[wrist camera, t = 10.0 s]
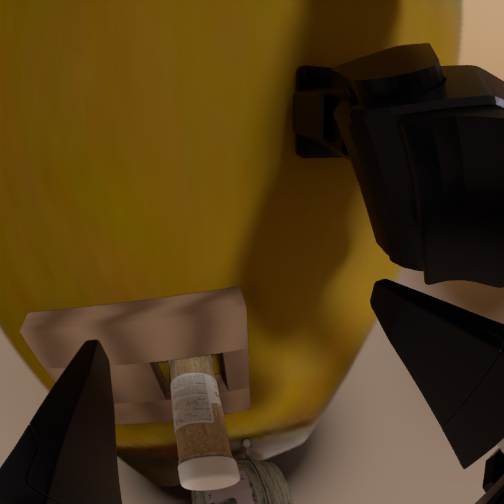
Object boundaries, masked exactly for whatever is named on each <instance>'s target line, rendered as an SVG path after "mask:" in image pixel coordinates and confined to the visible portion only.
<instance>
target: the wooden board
mask: <svg viewBox="0 0 504 504" xmlns="http://www.w3.org/2000/svg"><path fill="white" fill-rule="evenodd" d="M20 333H21V334H22V336H23V337H24V339H25V341H26V342H27V344H28V345H29V347H30V348H31V350H32V351H33V353H34V354H35V356H36V357H37V359H38V360H39V361H40V363H41V364H42V366H43V367H44V368H45V370H46V371H47V373H48V374H49V375H50V377H51V378H52V379H53V380H54V382H55V383H56V382H57V380H58V379H59V377H60V376H61V374H62V373H63V371H64V370H65V368H66V367H67V366H68V364H69V363H70V361H71V360H72V359H73V357H74V356H75V354H76V353H77V352H78V350H79V349H80V347H81V346H82V345H83V343H84V342H85V341H87V340H94V339H97V340H99V341H100V343H101V345H102V347H103V349H104V351H105V352H106V354H107V356H108V359H109V362H110V371H111V382H112V391H113V399H114V409H115V424H138V423H154V422H166V421H173V411H172V400H171V387H170V386H171V381H165V380H164V377H163V375H162V373H161V370H160V368H159V365H158V363H157V362H158V361H167V360H175V359H183V358H191V357H198V356H205V355H211V354H218V353H222V358H223V365H224V372H225V373H222V374H216V375H215V380H216V382H217V386H218V391H219V396H220V400H221V405H222V410H223V414H227V413H233V412H239V411H244V410H249V409H251V402H250V380H249V358H248V335H247V310H246V304H245V301H244V298H243V295H242V292H241V289H240V287H234V288H227V289H221V290H214V291H207V292H200V293H193V294H186V295H179V296H172V297H164V298H157V299H149V300H141V301H134V302H125V303H117V304H109V305H100V306H91V307H82V308H73V309H63V310H53V311H42V312H31V313H28V314H27V316H26V318H25V321H24V323H23V325H22V328H21V330H20Z"/></svg>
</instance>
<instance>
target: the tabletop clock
mask: <svg viewBox="0 0 504 504" xmlns="http://www.w3.org/2000/svg"><path fill="white" fill-rule="evenodd" d="M242 444H243V446H244V447H246V458H243V455H242V454H241V453H236V454H235V455H234V459H235V461H236V463H237V467H238V471H239V475H240V480H239V481H238V482H237V483H236V484H234V485H232V486H229V487H226V488H222V489H216V490H207V491H196V490H191V499H192V504H293V501H292V497H291V494H290V490H289V488H288V486H287V483H286V481H285V479H284V477H283V475H282V473H281V471H280V470H279V468H278V467H277V466H276V465H275V464H274V463H269V462H264V461H259V460H254V459H252V458H251V454H250V449H249V447H251V446H252V441H251V440H250V439H244V440H243V442H242Z"/></svg>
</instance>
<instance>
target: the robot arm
mask: <svg viewBox="0 0 504 504" xmlns="http://www.w3.org/2000/svg"><path fill="white" fill-rule="evenodd" d="M303 70H306V71H307V75H306V76H304V75H303V74H302V71H303ZM293 130H294V131H295V132H296V154H297V155H298V156H300V157H301V158H329V157H344V158H346V159H348V160H350V161H351V163H352V166H353V168H354V171H355V174H356V177H357V180H358V183H359V186H360V189H361V192H362V196H363V199H364V202H365V205H366V209H367V212H368V215H369V219H370V222H371V226H372V229H373V233H374V236H375V239H376V242H377V244H378V245H379V246H380V247H381V248H382V249H383V251H384V252H385V253H386V254H387V255H389V258H390V260H391V261H392V262H393V263H395V264H398V265H400V266H402V267H404V268H408V269H413V270H417V271H424V281H425V284H427V285H430V284H435V283H439V282H443V281H449V280H466V281H473V282H477V283H481V284H486V285H489V286H493V287H498V288H502V287H504V81H502V80H501V79H499V78H497V77H496V76H494V75H492V74H491V73H489V72H487V71H485V70H484V69H482V68H480V67H477V66H472V65H470V66H469V65H457V66H440V62H439V59H438V58H437V56H436V54H435V52H434V50H433V49H432V47H431V45H430V44H429V43H423V44H411V45H401V46H395V47H392V48H389V49H385V50H382V51H379V52H376V53H373V54H370V55H367V56H364V57H362V58H359V59H356V60H353V61H350V62H348V63H345V64H342V65H340V66H337V67H335V68H325V67H315V66H300V67H299V68H298V69H297V72H296V92H295V93H294V94H293ZM304 147H305V149H306V151H305V152H304V153H301V149H302V148H304ZM370 304H371V307H372V309H373V311H374V313H375V314H376V316H377V318H378V320H379V322H380V324H381V326H382V328H383V330H384V332H385V334H386V336H387V337H388V339H389V341H390V343H391V344H392V346H393V347H394V349H395V350H396V352H397V354H398V355H399V357H400V358H401V360H402V362H403V363H404V365H405V366H406V368H407V370H408V371H409V373H410V375H411V376H412V378H413V379H414V381H415V383H416V384H417V386H418V388H419V389H420V391H421V392H422V394H423V396H424V398H425V400H426V401H427V403H428V405H429V406H430V408H431V410H432V412H433V413H434V415H435V417H436V419H437V420H438V422H439V424H440V426H441V427H442V430H443V432H444V433H445V435H446V437H447V439H448V441H449V443H450V445H451V446H452V448H453V450H454V452H455V454H456V456H457V458H458V460H459V461H460V464H461V466H462V467H463V469H466V468H467V467H469V466H470V465H471V464H473V463H474V462H475V461H477V460H478V459H479V458H480V457H482V456H483V455H484V454H486V453H487V452H488V451H489V450H491V449H492V448H493V447H494V446H496V445H498V447H499V448H498V449H497V450H496V451H495V452H494V453H493V454H492V455H491V456H490V458H488V459H487V460H486V465H485V474H484V480H483V489H484V490H485V492H486V494H484V495H483V496H482V497H481V498H480V499H479V500H478V501H477V502H476V503H475V504H504V324H502V323H499V322H496V321H493V320H490V319H488V318H485V317H483V316H480V315H477V314H475V313H473V312H470V311H467V310H465V309H462V308H460V307H457V306H455V305H452V304H450V303H447V302H445V301H442V300H439V299H437V298H434V297H432V296H429V295H427V294H424V293H421V292H419V291H417V290H414V289H411V288H409V287H406V286H403V285H401V284H398V283H396V282H393V281H390V280H388V279H382V280H379V281H376V282H375V284H374V287H373V291H372V295H371V299H370ZM0 504H122V500H121V492H120V484H119V475H118V465H117V452H116V435H115V409H114V399H113V391H112V382H111V371H110V362H109V359H108V356H107V354H106V352H105V351H104V349H103V347H102V345H101V343H100V341H99V340H97V339H94V340H87V341H85V342H84V343H83V345H82V346H81V347H80V349H79V350H78V352H77V353H76V354H75V356H74V357H73V359H72V360H71V361H70V363H69V364H68V366H67V367H66V368H65V370H64V371H63V373H62V374H61V376H60V377H59V379H58V380H57V382H56V383H55V384H54V386H53V387H52V389H51V390H50V392H49V393H48V395H47V396H46V398H45V400H44V401H43V403H42V404H41V406H40V407H39V409H38V410H37V412H36V414H35V415H34V417H33V419H32V420H31V422H30V425H28V426H27V428H26V430H25V431H24V433H23V435H22V436H21V438H20V439H19V441H18V443H17V444H16V446H15V447H14V449H13V450H12V452H11V453H10V455H9V456H8V458H7V459H6V460H5V462H4V463H3V465H2V466H1V468H0Z"/></svg>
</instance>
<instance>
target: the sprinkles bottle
mask: <svg viewBox="0 0 504 504" xmlns="http://www.w3.org/2000/svg"><path fill="white" fill-rule="evenodd" d="M168 364H169V367H170V375H171V386H170V387H171V400H172V411H173V422H174V431H175V435H176V440H177V448H178V456H179V461H178V463H179V466H178V472H179V478H180V483H181V485H182V486H183V487H184V488H186V489H190V490H196V491H207V490H216V489H222V488H226V487H229V486H232V485H234V484H236V483H237V482H238V481H239V480H240V475H239V471H238V467H237V463H236V461H235V460H234V457H233V456H232V454H231V449H230V444H229V440H228V436H227V431H226V428H225V419H224V414H223V410H222V405H221V400H220V396H219V391H218V386H217V382H216V380H215V375H214V370H213V358H212V356H211V355H205V356H198V357H191V358H183V359H175V360H168Z"/></svg>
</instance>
